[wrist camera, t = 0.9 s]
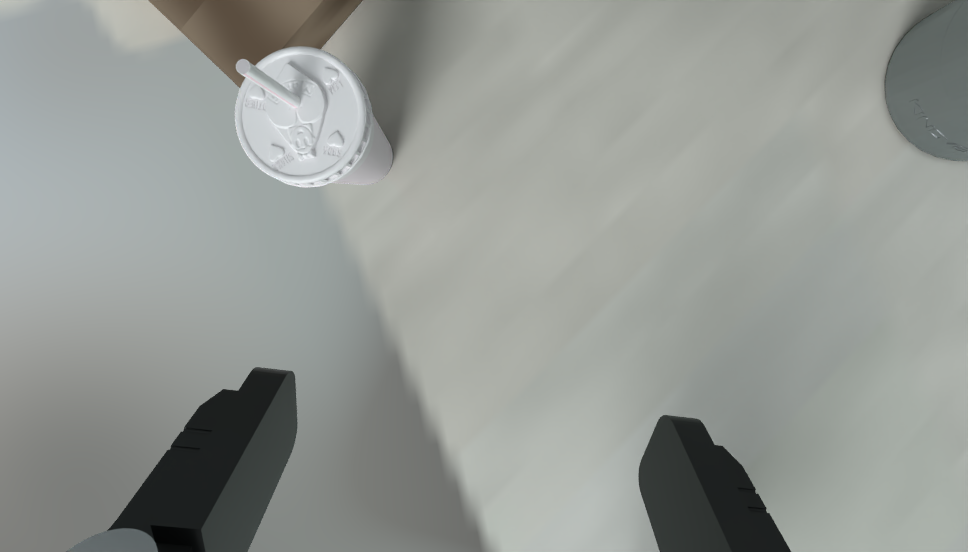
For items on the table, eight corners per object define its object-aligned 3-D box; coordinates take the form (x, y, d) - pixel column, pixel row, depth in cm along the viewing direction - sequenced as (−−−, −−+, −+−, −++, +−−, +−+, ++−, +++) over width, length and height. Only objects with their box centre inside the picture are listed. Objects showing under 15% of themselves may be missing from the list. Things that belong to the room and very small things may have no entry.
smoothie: (403, 98, 32) (310, -25, 18) (421, 195, 32) (345, 149, 18) (309, 119, 32) (148, 15, 18) (328, 214, 32) (183, 183, 18)
